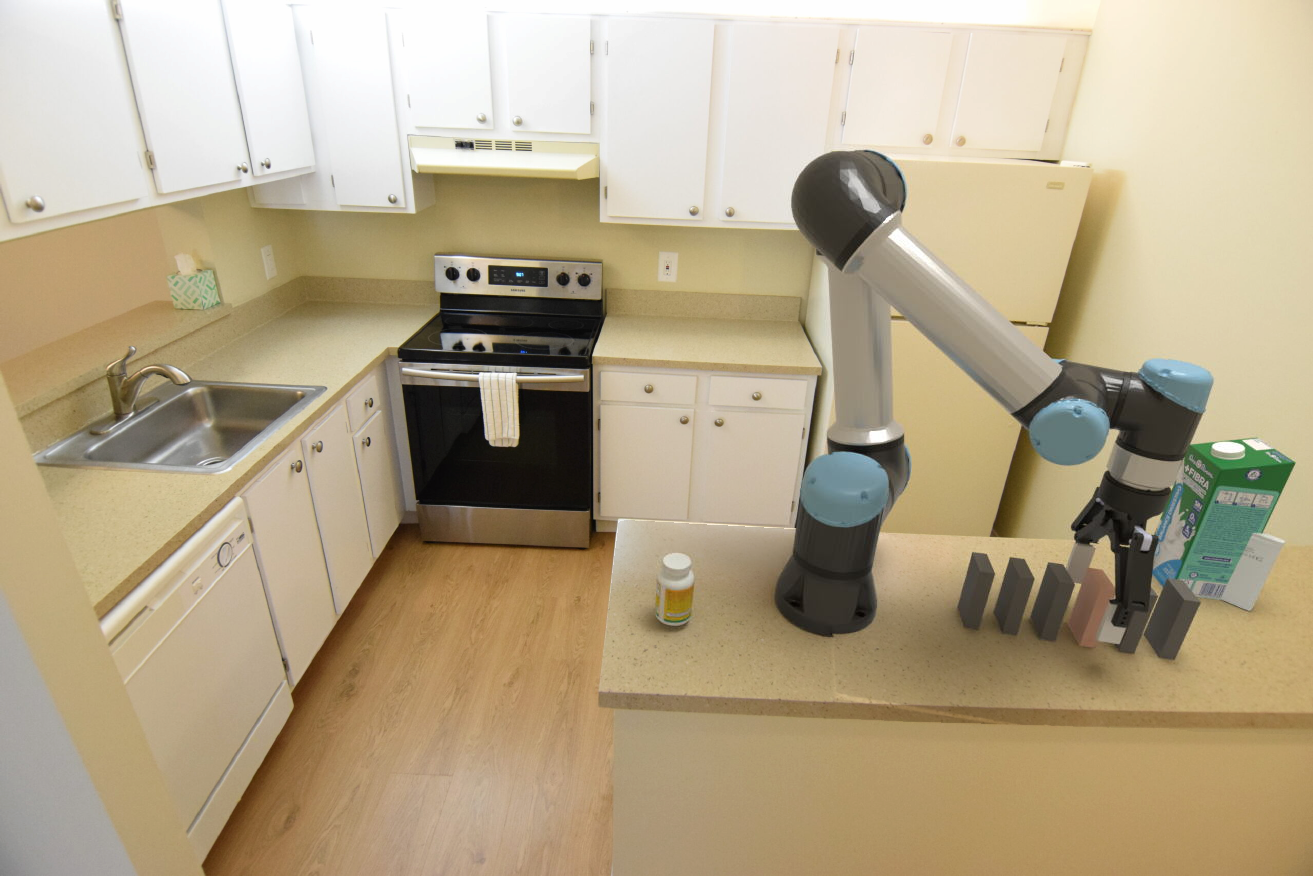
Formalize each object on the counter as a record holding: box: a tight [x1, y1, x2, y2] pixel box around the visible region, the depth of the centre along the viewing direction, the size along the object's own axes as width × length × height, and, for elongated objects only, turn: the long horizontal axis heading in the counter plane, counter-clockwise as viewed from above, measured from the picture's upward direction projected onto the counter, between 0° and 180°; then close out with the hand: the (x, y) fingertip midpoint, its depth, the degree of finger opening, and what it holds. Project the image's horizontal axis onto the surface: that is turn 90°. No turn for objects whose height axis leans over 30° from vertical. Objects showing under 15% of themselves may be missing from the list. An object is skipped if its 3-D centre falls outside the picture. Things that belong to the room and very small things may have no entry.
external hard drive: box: [1220, 532, 1286, 612], centre depth 107 cm, size 2×8×12 cm, turn 39°
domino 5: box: [1114, 586, 1159, 655], centre depth 98 cm, size 2×5×10 cm, turn 169°
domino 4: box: [1067, 567, 1115, 648], centre depth 98 cm, size 2×5×10 cm, turn 169°
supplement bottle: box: [654, 552, 695, 627], centre depth 99 cm, size 5×5×10 cm
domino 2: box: [993, 556, 1036, 637], centre depth 100 cm, size 2×5×10 cm, turn 169°
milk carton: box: [1152, 437, 1296, 601], centre depth 108 cm, size 9×9×25 cm
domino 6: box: [1143, 578, 1202, 661], centre depth 97 cm, size 2×5×10 cm, turn 169°
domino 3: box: [1029, 561, 1076, 643], centre depth 99 cm, size 2×5×10 cm, turn 169°
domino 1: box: [957, 551, 996, 631], centre depth 101 cm, size 2×5×10 cm, turn 169°
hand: (1088, 609), depth 99 cm, fingers open, 13 cm apart
